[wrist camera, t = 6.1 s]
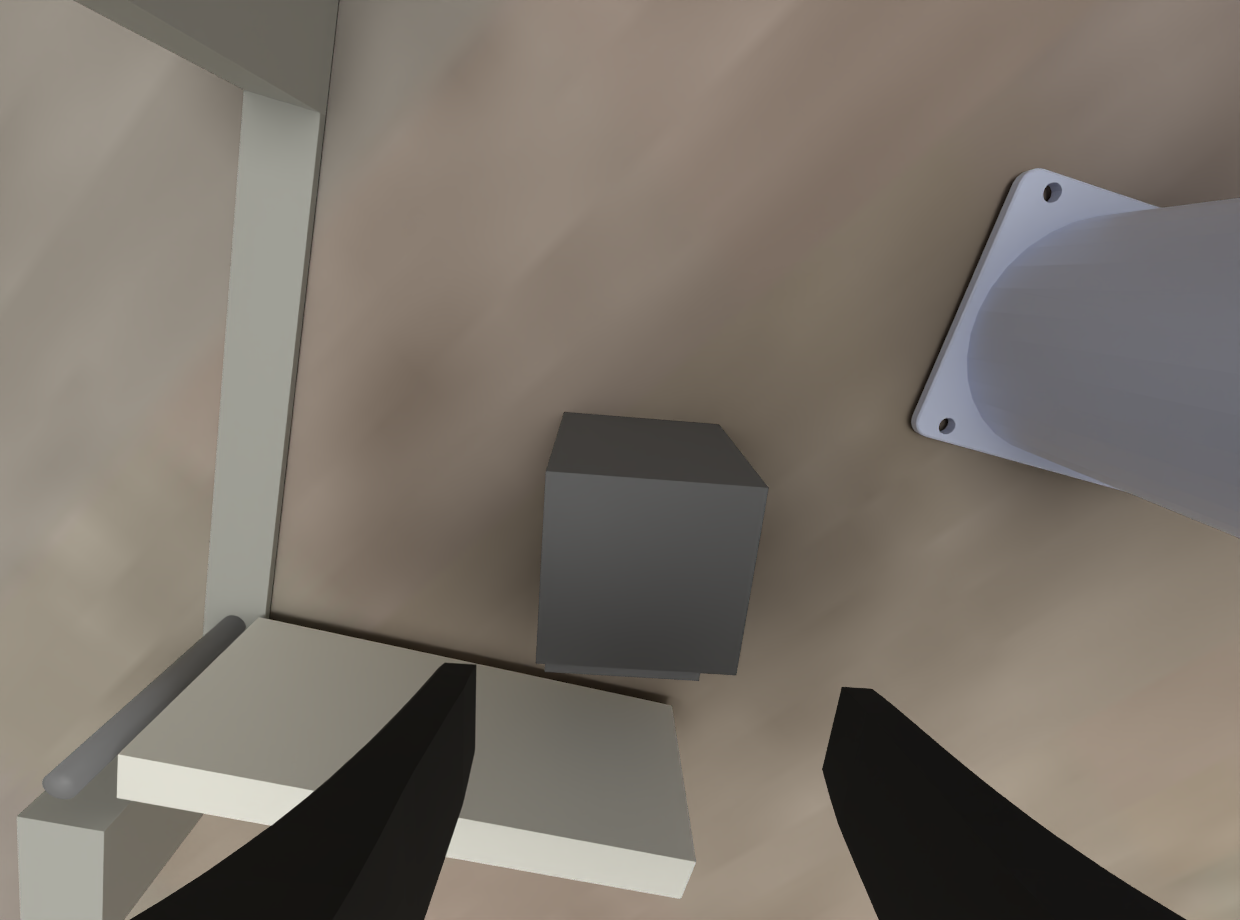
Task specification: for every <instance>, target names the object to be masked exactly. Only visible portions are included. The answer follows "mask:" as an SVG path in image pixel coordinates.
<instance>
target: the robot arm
mask: <svg viewBox="0 0 1240 920" xmlns="http://www.w3.org/2000/svg"><path fill="white" fill-rule="evenodd" d="M1047 185H1048V186H1049V187H1050V188H1051V191H1052V193H1051V197H1050V199H1049V200H1048V202H1046V201H1045V200H1044V197H1043V192H1044V189H1045V188H1046V186H1047ZM945 418H947V419H948V425H947V427H946V428H945V429H944V430H942V431H939V424H940V422H941V421H942V420H943V419H945ZM911 424H912V428H913V429H914V430H915V432H917V433H919V434H921V435H923V436H925V437H929V438H932V439H936V440H940V441H943V442H947V443H950V444H954V445H958V446H961V447H965V448H969V449H972V450H976V451H979V452H983V453H987V454H990V455H994V456H998V457H1001V458H1005V459H1008V460H1012V461H1016V462H1019V463H1023V464H1027V465H1030V466H1034V467H1038V468H1041V469H1045V470H1048V471H1052V472H1056V473H1059V474H1063V475H1067V476H1070V477H1074V478H1077V479H1081V480H1085V481H1088V482H1092V483H1096V484H1099V485H1103V486H1107V487H1110V488H1114V489H1117V490H1121V491H1125V492H1127V493H1130V494H1132V495H1135V496H1137V497H1140V498H1142V499H1145V500H1147V501H1149V502H1152V503H1154V504H1157V505H1159V506H1162V507H1164V508H1167V509H1169V510H1171V511H1174V512H1176V513H1179V514H1181V515H1184V516H1186V517H1189V518H1191V519H1194V520H1196V521H1198V522H1201V523H1203V524H1206V525H1208V526H1211V527H1213V528H1216V529H1218V530H1220V531H1223V532H1225V533H1228V534H1230V535H1233V536H1235V537H1238V538H1240V198H1233V199H1226V200H1218V201H1210V202H1202V203H1195V204H1187V205H1179V206H1171V207H1164V208H1160V207H1157V206H1154V205H1151V204H1148V203H1145V202H1142V201H1139V200H1136V199H1133V198H1130V197H1127V196H1124V195H1121V194H1118V193H1115V192H1112V191H1109V190H1106V189H1103V188H1100V187H1097V186H1094V185H1091V184H1088V183H1085V182H1082V181H1079V180H1076V179H1073V178H1070V177H1067V176H1064V175H1061V174H1058V173H1055V172H1052V171H1049V170H1046V169H1041V168H1036V169H1032V170H1028V171H1025V172H1023V173H1021V174H1020V175H1019V176H1018V177H1017V178H1016V179H1015V181H1014V182H1013V184H1012V186H1011V188H1010V191H1009V193H1008V195H1007V198H1006V200H1005V202H1004V205H1003V207H1002V209H1001V211H1000V214H999V216H998V218H997V221H996V223H995V225H994V228H993V230H992V232H991V235H990V237H989V239H988V242H987V244H986V246H985V249H984V251H983V253H982V256H981V258H980V260H979V262H978V265H977V267H976V269H975V272H974V274H973V276H972V279H971V281H970V283H969V286H968V288H967V290H966V293H965V295H964V297H963V300H962V302H961V304H960V307H959V309H958V311H957V313H956V316H955V318H954V320H953V323H952V325H951V327H950V330H949V332H948V334H947V337H946V339H945V341H944V344H943V346H942V348H941V351H940V353H939V355H938V357H937V360H936V362H935V364H934V367H933V369H932V371H931V374H930V376H929V378H928V381H927V383H926V385H925V388H924V390H923V392H922V395H921V397H920V399H919V402H918V404H917V406H916V408H915V411H914V413H913V415H912V420H911ZM476 665H477V664H460V663H444V664H442V665H441V666H440V667H439V668H438V669H437V670H436V671H435V672H434V673H433V675H432V676H431V677H430V678H429V679H428V680H427V681H426V682H425V684H424V685H423V686H422V687H421V688H420V689H419V690H418V691H417V692H416V693H415V695H414V696H413V697H412V698H411V699H410V700H409V701H408V702H407V703H406V704H405V705H404V706H403V707H402V709H401V710H400V711H399V712H398V713H397V714H396V715H395V716H394V717H393V718H392V719H391V720H390V721H389V722H388V723H387V724H386V725H385V726H384V727H383V728H382V729H381V730H380V731H379V732H378V733H377V734H376V735H375V736H374V737H373V738H372V739H371V740H370V741H369V742H368V743H367V744H366V745H365V746H364V747H363V748H362V749H360V750H359V751H358V752H357V753H356V754H355V755H354V756H353V757H352V758H351V759H350V760H348V761H347V762H346V763H345V764H344V765H343V766H342V767H341V768H340V769H339V770H338V771H337V772H335V773H334V774H333V775H332V776H331V777H330V778H329V779H328V780H326V781H325V782H324V783H323V784H322V785H321V786H319V787H318V788H317V789H316V790H315V791H314V792H312V793H311V794H310V795H309V796H308V797H306V798H305V799H304V800H303V801H302V802H300V803H299V804H298V805H297V806H295V807H294V808H293V809H292V810H290V811H289V812H288V813H287V814H285V815H284V816H283V817H281V818H280V819H279V820H278V821H276V822H275V823H274V824H273V825H271V826H270V827H269V828H267V829H266V830H264V831H263V832H262V833H260V834H259V835H258V836H256V837H255V838H253V839H252V840H251V841H249V842H248V843H247V844H245V845H244V846H242V847H241V848H240V849H238V850H237V851H235V852H234V853H232V854H231V855H230V856H228V857H227V858H225V859H224V860H222V861H221V862H220V863H218V864H217V865H215V866H214V867H213V868H211V869H210V870H208V871H207V872H205V873H204V874H202V875H201V876H199V877H198V878H196V879H195V880H193V881H191V882H190V883H188V884H187V885H185V886H184V887H182V888H180V889H179V890H177V891H176V892H174V893H173V894H171V895H170V896H168V897H166V898H165V899H163V900H162V901H160V902H158V903H157V904H155V905H153V906H152V907H150V908H148V909H147V910H145V911H143V912H142V913H140V914H138V915H137V916H135V917H134V918H132V919H130V920H424V918H425V915H426V913H427V910H428V907H429V904H430V901H431V898H432V895H433V892H434V889H435V886H436V883H437V880H438V877H439V874H440V871H441V868H442V865H443V863H444V860H445V857H446V854H447V851H448V848H449V845H450V842H451V839H452V836H453V833H454V830H455V827H456V824H457V821H458V818H459V815H460V812H461V809H462V806H463V802H464V798H465V793H466V789H467V785H468V780H469V776H470V771H471V767H472V762H473V758H474V753H475V730H476ZM822 770H823V774H824V777H825V781H826V785H827V788H828V792H829V795H830V799H831V802H832V805H833V809H834V812H835V815H836V818H837V822H838V825H839V827H840V829H841V832H842V834H843V837H844V839H845V842H846V844H847V846H848V849H849V851H850V854H851V856H852V858H853V861H854V863H855V865H856V868H857V870H858V872H859V875H860V877H861V879H862V882H863V884H864V886H865V889H866V891H867V893H868V896H869V898H870V900H871V903H872V905H873V907H874V910H875V912H876V914H877V917H878V919H879V920H1186V919H1184V918H1183V917H1181V916H1179V915H1178V914H1176V913H1174V912H1173V911H1171V910H1169V909H1168V908H1166V907H1165V906H1163V905H1161V904H1160V903H1158V902H1156V901H1155V900H1153V899H1151V898H1150V897H1148V896H1147V895H1145V894H1143V893H1142V892H1140V891H1138V890H1137V889H1135V888H1133V887H1132V886H1130V885H1129V884H1127V883H1126V882H1124V881H1122V880H1121V879H1119V878H1118V877H1116V876H1115V875H1113V874H1112V873H1110V872H1108V871H1107V870H1105V869H1104V868H1102V867H1101V866H1099V865H1098V864H1096V863H1095V862H1094V861H1092V860H1091V859H1089V858H1088V857H1086V856H1085V855H1083V854H1082V853H1080V852H1079V851H1077V850H1076V849H1075V848H1073V847H1072V846H1070V845H1069V844H1067V843H1066V842H1064V841H1063V840H1061V839H1060V838H1058V837H1057V836H1056V835H1054V834H1053V833H1051V832H1050V831H1049V830H1047V829H1046V828H1044V827H1043V826H1042V825H1040V824H1039V823H1038V822H1036V821H1035V820H1033V819H1032V818H1031V817H1029V816H1028V815H1027V814H1026V813H1024V812H1023V811H1022V810H1020V809H1019V808H1018V807H1016V806H1015V805H1014V804H1012V803H1011V802H1010V801H1008V800H1007V799H1006V798H1005V797H1003V796H1002V795H1001V794H999V793H998V792H997V791H995V790H994V789H993V788H992V787H990V786H989V785H988V784H987V783H985V782H984V781H983V780H982V779H980V778H979V777H978V776H977V775H975V774H974V773H973V772H972V771H970V770H969V769H968V768H967V767H966V766H964V765H963V764H962V763H961V762H960V761H958V760H957V759H956V758H955V757H954V756H952V755H951V754H950V753H949V752H948V751H946V750H945V749H944V748H943V747H942V746H940V745H939V744H938V743H937V742H936V741H934V740H933V739H932V738H931V737H930V736H929V735H927V734H926V733H925V732H924V731H923V730H922V729H920V728H919V727H918V726H917V725H916V724H914V723H913V722H912V721H911V720H910V719H909V718H907V717H906V716H905V715H904V714H903V713H901V712H900V711H899V710H898V709H897V708H896V707H894V706H893V705H892V704H891V703H890V702H888V701H887V700H886V699H885V698H883V697H882V696H881V695H879V694H878V693H877V692H876V691H874V690H873V689H866V688H849V687H842V689H841V693H840V697H839V701H838V706H837V710H836V714H835V718H834V722H833V726H832V731H831V735H830V739H829V743H828V747H827V751H826V756H825V760H824V764H823V768H822Z"/></svg>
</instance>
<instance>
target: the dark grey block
mask: <svg viewBox="0 0 1240 920" xmlns="http://www.w3.org/2000/svg"><path fill="white" fill-rule="evenodd" d="M768 489H769V488H768V486H767V485H766V484H765V483H764V481H763V480H762V479H761V478H760V476H759V475H758V474H757V472H756V471H755V470H754V469H753V467H752V466H751V465H750V464H749V462H748V461H747V460H746V458H745V457H744V456H743V455H742V453H741V452H740V451H739V449H738V448H737V447H736V446H735V444H734V443H733V442H732V441H731V439H730V438H729V437H728V435H727V434H726V433H725V432H724V430H723V429H722V428H721V426H720V425H719V424H707V423H695V422H682V421H670V420H657V419H645V418H632V417H620V416H607V415H595V414H582V413H570V412H564V415H563V418H562V421H561V424H560V427H559V431H558V434H557V437H556V440H555V443H554V447H553V450H552V453H551V456H550V459H549V463H548V466H547V469H546V477H545V497H544V516H543V535H542V554H541V573H540V592H539V612H538V631H537V650H536V663H537V664H545V672H556V673H573V674H591V675H608V676H625V677H642V678H659V679H676V680H694V681H699V676H700V673H707V674H724V675H736V673H737V668H738V662H739V656H740V650H741V644H742V639H743V633H744V627H745V621H746V616H747V610H748V604H749V598H750V593H751V587H752V581H753V575H754V569H755V564H756V558H757V552H758V546H759V541H760V535H761V529H762V523H763V517H764V512H765V506H766V500H767V494H768Z"/></svg>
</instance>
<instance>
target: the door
mask: <svg viewBox="0 0 1240 920" xmlns="http://www.w3.org/2000/svg"><path fill="white" fill-rule="evenodd" d="M444 663H460V664H476V663H471V662H466V661H462V660H457V659H452V658H448V657H443V656H438V655H434V654H429V653H424V652H420V651H415V650H410V649H406V648H401V647H396V646H392V645H387V644H382V643H378V642H373V641H368V640H364V639H359V638H354V637H350V636H345V635H340V634H336V633H331V632H326V631H322V630H317V629H312V628H308V627H303V626H298V625H294V624H289V623H284V622H280V621H275V620H270V619H266V618H261V617H259V618H258V619H257V620H255V621H254V622H253V623H252V624H251V625H250V626H249V627H248V628H247V629H246V630H245V631H244V632H243V633H242V634H241V635H240V636H239V637H238V638H237V639H236V640H235V641H234V642H233V643H232V644H231V645H230V646H229V647H228V648H227V649H226V650H225V651H224V652H223V653H222V654H221V655H219V656H218V657H217V658H216V659H215V660H214V661H213V662H212V663H211V664H210V665H209V666H208V667H207V668H206V669H205V670H204V671H203V672H202V673H201V674H200V675H199V676H198V677H197V678H196V679H195V680H194V681H193V682H192V683H191V684H190V685H189V686H188V687H187V688H186V689H185V690H184V691H182V692H181V693H180V694H179V695H178V696H177V697H176V698H175V699H174V700H173V701H172V702H171V703H170V704H169V705H168V706H167V707H166V708H165V709H164V710H163V711H162V712H161V713H160V714H159V715H158V716H157V717H156V718H155V719H154V720H153V721H152V722H151V723H150V724H149V725H148V726H146V727H145V728H144V729H143V730H142V731H141V732H140V733H139V734H138V735H137V736H136V737H135V738H134V739H133V740H132V741H131V742H130V743H129V744H128V745H127V746H126V747H125V748H124V749H123V750H122V751H121V752H120V753H119V754H118V770H117V798H120V799H126V800H131V801H137V802H142V803H148V804H154V805H159V806H165V807H170V808H176V809H182V810H187V811H193V812H198V813H204V814H209V815H215V816H221V817H226V818H232V819H237V820H243V821H248V822H254V823H260V824H265V825H273V824H274V823H275V822H276V821H278V820H279V819H280V818H281V817H283V816H284V815H285V814H287V813H288V812H289V811H290V810H292V809H293V808H294V807H295V806H297V805H298V804H299V803H300V802H302V801H303V800H304V799H305V798H306V797H308V796H309V795H310V794H311V793H312V792H314V791H315V790H316V789H317V788H318V787H319V786H321V785H322V784H323V783H324V782H325V781H326V780H328V779H329V778H330V777H331V776H332V775H333V774H334V773H335V772H337V771H338V770H339V769H340V768H341V767H342V766H343V765H344V764H345V763H346V762H347V761H348V760H350V759H351V758H352V757H353V756H354V755H355V754H356V753H357V752H358V751H359V750H360V749H362V748H363V747H364V746H365V745H366V744H367V743H368V742H369V741H370V740H371V739H372V738H373V737H374V736H375V735H376V734H377V733H378V732H379V731H380V730H381V729H382V728H383V727H384V726H385V725H386V724H387V723H388V722H389V721H390V720H391V719H392V718H393V717H394V716H395V715H396V714H397V713H398V712H399V711H400V710H401V709H402V707H403V706H404V705H405V704H406V703H407V702H408V701H409V700H410V699H411V698H412V697H413V696H414V695H415V693H416V692H417V691H418V690H419V689H420V688H421V687H422V686H423V685H424V684H425V682H426V681H427V680H428V679H429V678H430V677H431V676H432V675H433V673H434V672H435V671H436V670H437V669H438V668H439V667H440V666H441V665H442V664H444ZM446 857H449V858H455V859H461V860H466V861H472V862H477V863H483V864H488V865H494V866H500V867H505V868H511V869H516V870H522V871H528V872H533V873H539V874H544V875H550V876H555V877H561V878H567V879H572V880H578V881H583V882H589V883H595V884H600V885H606V886H611V887H617V888H622V889H628V890H634V891H639V892H645V893H650V894H656V895H661V896H667V897H673V898H678V899H681V897H682V895H683V892H684V890H685V888H686V885H687V883H688V880H689V878H690V876H691V873H692V871H693V868H694V866H695V864H696V858H695V852H694V845H693V839H692V832H691V826H690V819H689V813H688V806H687V800H686V793H685V787H684V781H683V774H682V768H681V761H680V755H679V748H678V742H677V735H676V729H675V722H674V716H673V710H672V705H667V704H663V703H658V702H653V701H649V700H644V699H639V698H635V697H630V696H625V695H621V694H616V693H611V692H607V691H602V690H597V689H593V688H588V687H583V686H579V685H574V684H569V683H565V682H560V681H555V680H551V679H546V678H541V677H537V676H532V675H527V674H523V673H518V672H513V671H509V670H504V669H499V668H494V667H490V666H485V665H480V664H477V665H476V730H475V753H474V758H473V762H472V767H471V771H470V776H469V780H468V785H467V789H466V793H465V798H464V802H463V806H462V809H461V812H460V815H459V818H458V821H457V824H456V827H455V830H454V833H453V836H452V839H451V842H450V845H449V848H448V851H447V854H446Z"/></svg>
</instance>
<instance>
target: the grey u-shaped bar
mask: <svg viewBox="0 0 1240 920" xmlns="http://www.w3.org/2000/svg"><path fill="white" fill-rule="evenodd" d="M74 1H76V2H78V3H79V4H81V5H83V6H85V7H87V8H89V9H91V10H93V11H95V12H97V13H99V14H100V15H102V16H104V17H106V18H108V19H110V20H112V21H114V22H116V23H118V24H119V25H121V26H123V27H125V28H127V29H129V30H131V31H133V32H135V33H137V34H139V35H140V36H142V37H144V38H146V39H148V40H150V41H152V42H154V43H156V44H158V45H160V46H161V47H163V48H165V49H167V50H169V51H171V52H173V53H175V54H177V55H179V56H180V57H182V58H184V59H186V60H188V61H190V62H192V63H194V64H196V65H198V66H200V67H201V68H203V69H205V70H207V71H209V72H211V73H213V74H215V75H217V76H219V77H221V78H222V79H224V80H226V81H228V82H230V83H232V84H234V85H236V86H238V87H240V88H241V89H243V90H244V95H243V109H242V122H241V135H240V149H239V162H238V175H237V188H236V202H235V215H234V228H233V241H232V255H231V268H230V281H229V294H228V308H227V321H226V334H225V348H224V361H223V374H222V387H221V401H220V414H219V427H218V440H217V454H216V467H215V480H214V493H213V507H212V520H211V533H210V546H209V560H208V573H207V586H206V600H205V613H204V626H203V637H202V638H201V639H200V640H199V641H198V642H197V643H195V644H194V645H193V646H192V647H191V648H190V649H189V650H188V651H186V652H185V653H184V654H183V655H182V656H181V657H180V658H178V659H177V660H176V661H175V662H174V663H173V664H172V665H171V666H169V667H168V668H167V669H166V670H165V671H164V672H163V673H162V674H160V675H159V676H158V677H157V678H156V679H155V680H154V681H153V682H151V683H150V684H149V685H148V686H147V687H146V688H145V689H144V690H142V691H141V692H140V693H139V694H138V695H137V696H136V697H134V698H133V699H132V700H131V701H130V702H129V703H128V704H127V705H125V706H124V707H123V708H122V709H121V710H120V711H119V712H118V713H116V714H115V715H114V716H113V717H112V718H111V719H110V720H109V721H107V722H106V723H105V724H104V725H103V726H102V727H101V728H99V729H98V730H97V731H96V732H95V733H94V734H93V735H92V736H90V737H89V738H88V739H87V740H86V741H85V742H84V743H83V744H81V745H80V746H79V747H78V748H77V749H76V750H75V751H74V752H72V753H71V754H70V755H69V756H68V757H67V758H66V759H65V760H63V761H62V762H61V763H60V764H59V765H58V766H57V767H55V768H54V769H53V770H52V771H51V772H50V773H49V774H48V775H46V776H45V777H44V779H43V782H42V784H43V787H44V789H45V791H44V792H43V793H42V794H41V795H40V796H39V797H38V798H36V799H35V800H34V801H33V802H32V803H31V804H30V805H29V806H28V807H27V808H25V809H24V810H23V811H22V812H21V813H20V814H19V815H18V816H17V839H18V866H19V894H20V920H124V919H125V918H126V916H127V915H128V914H129V912H130V911H131V910H132V908H133V907H134V906H135V904H136V903H137V902H138V900H139V899H140V898H141V896H142V895H143V894H144V892H145V891H146V890H147V888H148V887H149V886H150V884H151V883H152V882H153V880H154V879H155V878H156V876H157V875H158V874H159V873H160V871H161V870H162V869H163V867H164V866H165V865H166V863H167V862H168V861H169V859H170V858H171V857H172V855H173V854H174V853H175V851H176V850H177V849H178V847H179V846H180V845H181V843H182V842H183V841H184V839H185V838H186V837H187V835H188V834H189V833H190V831H191V830H192V829H193V827H194V826H195V825H196V823H197V822H198V821H199V819H200V818H201V817H202V815H203V814H204V813H198V812H193V811H187V810H182V809H176V808H170V807H165V806H159V805H154V804H148V803H142V802H137V801H131V800H126V799H120V798H117V770H118V754H119V753H120V752H121V751H122V750H123V749H124V748H125V747H126V746H127V745H128V744H129V743H130V742H131V741H132V740H133V739H134V738H135V737H136V736H137V735H138V734H139V733H140V732H141V731H142V730H143V729H144V728H145V727H146V726H148V725H149V724H150V723H151V722H152V721H153V720H154V719H155V718H156V717H157V716H158V715H159V714H160V713H161V712H162V711H163V710H164V709H165V708H166V707H167V706H168V705H169V704H170V703H171V702H172V701H173V700H174V699H175V698H176V697H177V696H178V695H179V694H180V693H181V692H182V691H184V690H185V689H186V688H187V687H188V686H189V685H190V684H191V683H192V682H193V681H194V680H195V679H196V678H197V677H198V676H199V675H200V674H201V673H202V672H203V671H204V670H205V669H206V668H207V667H208V666H209V665H210V664H211V663H212V662H213V661H214V660H215V659H216V658H217V657H218V656H219V655H221V654H222V653H223V652H224V651H225V650H226V649H227V648H228V647H229V646H230V645H231V644H232V643H233V642H234V641H235V640H236V639H237V638H238V637H239V636H240V635H241V634H242V633H243V632H244V631H245V630H246V629H247V628H248V627H249V626H250V625H251V624H252V623H253V622H254V621H255V620H257V619H258V618H259V617H261V618H266V619H269V615H270V606H271V597H272V588H273V579H274V570H275V561H276V553H277V544H278V535H279V526H280V517H281V508H282V499H283V490H284V482H285V473H286V464H287V455H288V446H289V437H290V428H291V419H292V411H293V402H294V393H295V384H296V375H297V366H298V357H299V348H300V340H301V331H302V322H303V313H304V304H305V295H306V286H307V277H308V269H309V260H310V251H311V242H312V233H313V224H314V215H315V206H316V198H317V189H318V180H319V171H320V162H321V153H322V144H323V136H324V127H325V118H326V109H327V100H328V91H329V82H330V73H331V65H332V56H333V47H334V38H335V29H336V20H337V11H338V2H339V0H74Z"/></svg>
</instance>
